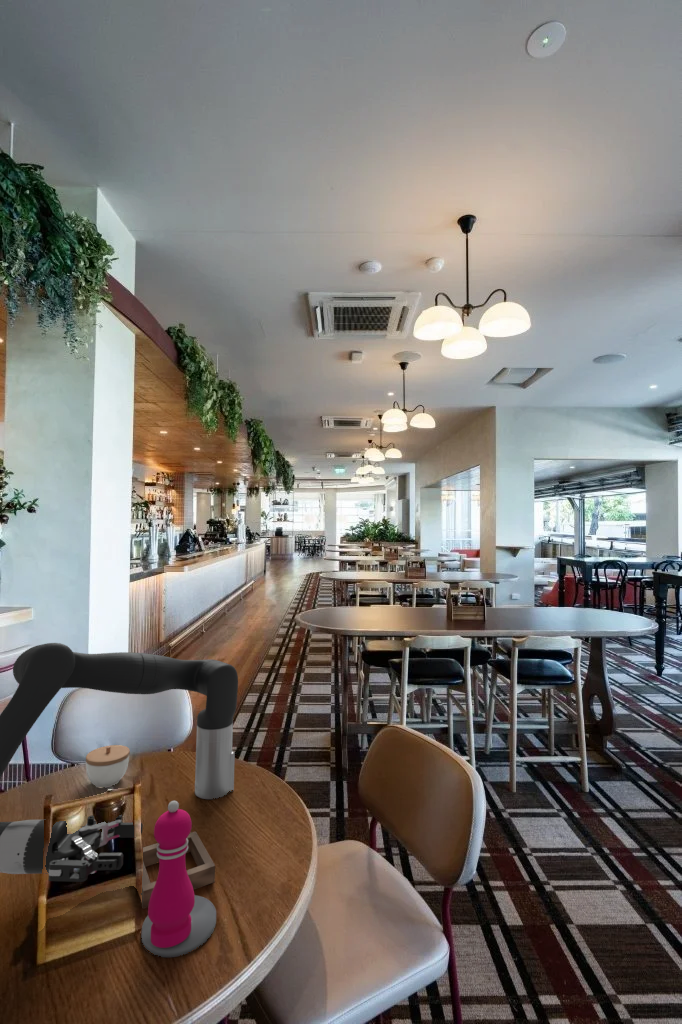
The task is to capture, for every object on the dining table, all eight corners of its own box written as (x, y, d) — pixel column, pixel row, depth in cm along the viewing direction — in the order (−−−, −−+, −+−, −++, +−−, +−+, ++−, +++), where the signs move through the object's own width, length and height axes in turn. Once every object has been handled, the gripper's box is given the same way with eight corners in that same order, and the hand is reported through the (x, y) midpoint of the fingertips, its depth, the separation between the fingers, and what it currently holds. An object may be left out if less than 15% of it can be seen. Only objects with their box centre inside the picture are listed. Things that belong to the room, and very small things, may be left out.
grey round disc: (204, 891, 90) (204, 886, 90) (225, 936, 80) (226, 929, 80) (135, 918, 83) (135, 911, 83) (149, 970, 73) (149, 963, 73)
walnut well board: (195, 845, 103) (195, 831, 103) (214, 881, 92) (215, 865, 92) (130, 866, 96) (130, 851, 96) (142, 908, 85) (143, 891, 85)
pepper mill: (203, 924, 80) (204, 794, 84) (174, 955, 74) (176, 812, 77) (168, 916, 83) (170, 790, 86) (137, 945, 76) (140, 807, 79)
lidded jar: (135, 781, 130) (137, 746, 131) (94, 797, 122) (96, 759, 123) (117, 769, 137) (119, 735, 138) (77, 783, 129) (79, 747, 130)
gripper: (9, 849, 74) (116, 847, 75) (58, 800, 88) (148, 799, 89) (6, 900, 74) (114, 898, 74) (56, 842, 88) (146, 841, 89)
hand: (132, 844), depth 82 cm, fingers open, 8 cm apart
